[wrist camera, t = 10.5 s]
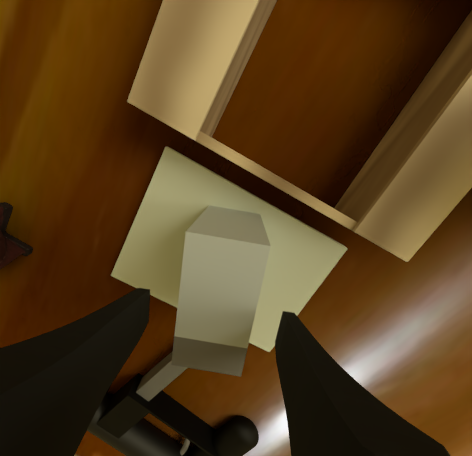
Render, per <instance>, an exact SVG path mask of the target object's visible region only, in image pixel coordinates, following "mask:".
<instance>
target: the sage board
mask: <svg viewBox="0 0 472 456" xmlns="http://www.w3.org/2000/svg"><path fill="white" fill-rule="evenodd" d="M209 205H210V206H216V207H222V208H228V209H233V210H239V211H245V212H251V213H256V214H260V215H261V218H262V221H263V224H264V227H265V230H266V233H267V236H268V239H269V242H270V245H271V247H270V251H269V256H268V260H267V265H266V269H265V273H264V278H263V282H262V287H261V291H260V295H259V300H258V304H257V308H256V313H255V317H254V322H253V326H252V330H251V335H250V339H249V343H251V344H253V345H255V346H257V347H259V348H262V349H264V350H266V351H268V352H270V351H271V350H272V348H273V347H274V346H275V340H276V336H277V332H278V328H279V324H280V320H281V316H282V312H283V311H286V312H293V313H295V314H296V316H297V315H298V314H299V313H300V311H301V310H302V309H303V307H304V306H305V305H306V303H307V302H308V301H309V299H310V298H311V297H312V295H313V294H314V293H315V291H316V290H317V289H318V287H319V286H320V285H321V283H322V282H323V281H324V279H325V278H326V277H327V275H328V274H329V273H330V271H331V270H332V269H333V267H334V266H335V265H336V264H337V262H338V261H339V260H340V258H341V257H342V256H343V254H344V253H345V252H346V250H347V249H348V248H347V247H345V246H344V245H342V244H341V243H339V242H337V241H335V240H334V239H332V238H330V237H328V236H326V235H325V234H323V233H321V232H319V231H318V230H316V229H314V228H312V227H310V226H309V225H307V224H305V223H303V222H302V221H300V220H298V219H296V218H294V217H293V216H291V215H289V214H287V213H286V212H284V211H282V210H280V209H278V208H277V207H275V206H273V205H271V204H270V203H268V202H266V201H264V200H262V199H261V198H259V197H257V196H255V195H254V194H252V193H250V192H248V191H246V190H245V189H243V188H241V187H239V186H238V185H236V184H234V183H232V182H230V181H229V180H227V179H225V178H223V177H222V176H220V175H218V174H216V173H214V172H213V171H211V170H209V169H207V168H206V167H204V166H202V165H200V164H198V163H197V162H195V161H193V160H191V159H190V158H188V157H186V156H184V155H182V154H181V153H179V152H177V151H175V150H174V149H172V148H170V147H167V146H166V147H165V149H164V152H163V154H162V156H161V159H160V161H159V163H158V166H157V168H156V170H155V173H154V175H153V177H152V180H151V182H150V184H149V187H148V189H147V191H146V194H145V196H144V198H143V201H142V203H141V206H140V208H139V210H138V213H137V215H136V217H135V220H134V222H133V224H132V227H131V229H130V231H129V234H128V236H127V238H126V241H125V243H124V245H123V248H122V250H121V253H120V255H119V257H118V260H117V262H116V264H115V267H114V269H113V271H112V274H111V276H112V277H114V278H116V279H119V280H121V281H123V282H125V283H127V284H129V285H131V286H133V287H135V288H144V289H150V295H152V296H154V297H156V298H158V299H160V300H162V301H164V302H166V303H168V304H170V305H172V306H174V307H177V308H178V299H179V289H180V280H181V271H182V262H183V253H184V244H185V234H186V231H187V230H188V229H189V227H190V226H191V225H192V224H193V223H194V222H195V221H196V220H197V219H198V217H199V216H200V215H201V214H202V213H203V212H204V211H205V210H206V209H207V207H208V206H209Z"/></svg>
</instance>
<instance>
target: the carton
mask: <svg viewBox="0 0 472 456" xmlns="http://www.w3.org/2000/svg"><path fill="white" fill-rule="evenodd" d="M276 1H277V0H163V2H162V5H161V7H160V10H159V13H158V16H157V19H156V21H155V24H154V27H153V30H152V33H151V35H150V38H149V41H148V44H147V47H146V50H145V52H144V55H143V58H142V61H141V64H140V66H139V69H138V72H137V75H136V78H135V80H134V83H133V86H132V89H131V92H130V94H129V97H128V100H127V102H128V103H130V104H132V105H134V106H135V107H137V108H139V109H141V110H142V111H144V112H146V113H148V114H149V115H151V116H153V117H155V118H156V119H158V120H160V121H162V122H163V123H165V124H167V125H169V126H170V127H172V128H174V129H176V130H177V131H179V132H181V133H183V134H184V135H186V136H188V137H190V138H191V139H193V140H195V141H197V142H198V143H200V144H202V145H204V146H205V147H207V148H209V149H211V150H212V151H214V152H216V153H218V154H219V155H221V156H223V157H225V158H226V159H228V160H230V161H232V162H233V163H235V164H237V165H239V166H240V167H242V168H244V169H245V170H247V171H249V172H251V173H252V174H254V175H256V176H258V177H259V178H261V179H263V180H265V181H266V182H268V183H270V184H272V185H273V186H275V187H277V188H279V189H280V190H282V191H284V192H286V193H287V194H289V195H291V196H293V197H294V198H296V199H298V200H300V201H301V202H303V203H305V204H307V205H308V206H310V207H312V208H314V209H315V210H317V211H319V212H321V213H322V214H324V215H326V216H327V217H329V218H331V219H333V220H334V221H336V222H338V223H340V224H341V225H343V226H345V227H347V228H348V229H350V230H352V231H354V232H355V233H357V234H359V235H361V236H362V237H364V238H366V239H368V240H369V241H371V242H373V243H374V244H376V245H378V246H380V247H381V248H383V249H385V250H387V251H388V252H390V253H392V254H394V255H395V256H397V257H399V258H401V259H402V260H404V261H406V262H408V261H409V260H410V259H411V258H412V256H413V255H414V254H415V253H416V252H417V251H418V250H419V248H420V247H421V246H422V245H423V244H424V243H425V241H426V240H427V239H428V238H429V237H430V236H431V234H432V233H433V232H434V231H435V230H436V229H437V227H438V226H439V225H440V224H441V223H442V222H443V220H444V219H445V218H446V217H447V216H448V215H449V213H450V212H451V211H452V210H453V209H454V208H455V206H456V205H457V204H458V203H459V202H460V201H461V199H462V198H463V197H464V196H465V195H466V194H467V192H468V191H469V190H470V189H471V188H472V10H471V12H470V13H469V14H468V16H467V17H466V19H465V20H464V22H463V23H462V25H461V26H460V27H459V29H458V30H457V32H456V33H455V35H454V36H453V38H452V39H451V40H450V42H449V43H448V45H447V46H446V48H445V49H444V51H443V52H442V53H441V55H440V56H439V58H438V59H437V61H436V62H435V63H434V65H433V66H432V68H431V69H430V71H429V72H428V74H427V75H426V76H425V78H424V79H423V81H422V82H421V84H420V85H419V87H418V88H417V89H416V91H415V92H414V94H413V95H412V97H411V98H410V100H409V101H408V102H407V104H406V105H405V107H404V108H403V110H402V111H401V112H400V114H399V115H398V117H397V118H396V120H395V121H394V123H393V124H392V125H391V127H390V128H389V130H388V131H387V133H386V134H385V136H384V137H383V138H382V140H381V141H380V143H379V144H378V146H377V147H376V148H375V150H374V151H373V153H372V154H371V156H370V157H369V159H368V160H367V161H366V163H365V164H364V166H363V167H362V169H361V170H360V172H359V173H358V174H357V176H356V177H355V179H354V180H353V182H352V183H351V185H350V186H349V187H348V189H347V190H346V192H345V193H344V195H343V196H342V197H341V199H340V200H339V202H338V203H337V205H336V206H335V208H332V207H330V206H329V205H327V204H325V203H323V202H322V201H320V200H318V199H317V198H315V197H313V196H311V195H310V194H308V193H306V192H305V191H303V190H301V189H299V188H298V187H296V186H294V185H292V184H291V183H289V182H287V181H286V180H284V179H282V178H280V177H279V176H277V175H275V174H273V173H272V172H270V171H268V170H267V169H265V168H263V167H261V166H260V165H258V164H256V163H254V162H253V161H251V160H249V159H248V158H246V157H244V156H242V155H241V154H239V153H237V152H236V151H234V150H232V149H230V148H229V147H227V146H225V145H223V144H222V143H220V142H218V141H217V140H215V139H213V138H211V137H212V135H213V133H214V131H215V129H216V127H217V125H218V123H219V120H220V118H221V116H222V114H223V112H224V110H225V108H226V106H227V104H228V102H229V100H230V97H231V95H232V93H233V91H234V89H235V87H236V85H237V83H238V81H239V79H240V77H241V74H242V72H243V70H244V68H245V66H246V64H247V62H248V60H249V58H250V56H251V54H252V51H253V49H254V47H255V45H256V43H257V41H258V39H259V37H260V35H261V33H262V31H263V28H264V26H265V24H266V22H267V20H268V18H269V16H270V14H271V12H272V10H273V8H274V5H275V3H276Z"/></svg>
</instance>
